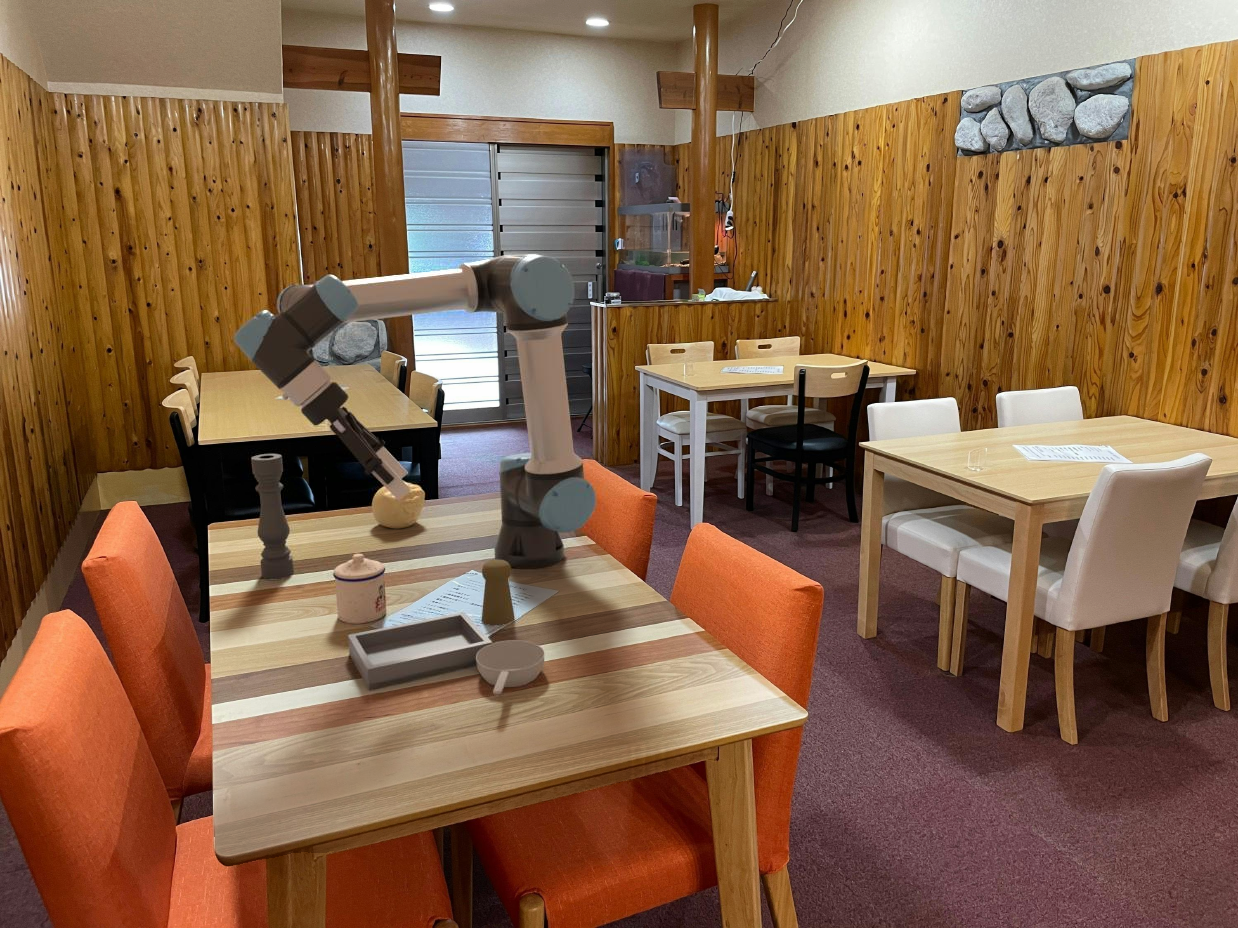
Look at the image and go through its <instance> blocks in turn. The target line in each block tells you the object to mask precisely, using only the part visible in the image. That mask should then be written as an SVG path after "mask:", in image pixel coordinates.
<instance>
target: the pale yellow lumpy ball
mask: <svg viewBox="0 0 1238 928" xmlns="http://www.w3.org/2000/svg"><path fill="white" fill-rule="evenodd" d="M403 481H404V482H405V483H406V485H407V486H408V487H409V488H410V489H411V490H410V491H409V492H408V493H407V494H406V495H405V496H403V497H402V498H401V499H400V500H399V501H398V500H397V499H396V498H395V497H394V495H393V494H392V493H391V492H390V491H389V490H388V489H387V488H386V487H385V486H384V485H383V486H382V487H381V488H379V489H378V490H377V492H376V493H375V494H374V496H373V498H372V503H371V512H372V514H373V518H374V519H375V521H376V522H377V523H378V524H380V525H381V526H383V527H386V528H390V529H404V528H409V527H410V526H412V525H414V524H415V523H416V522H417V521H418V520H419V517H420V515H421V513H422V509H423V508H424V507H425V503H426V500H425V498H426V493H425V491H424V490H423V489H422V487H421V486H420V485H418V484H413V483H411V482H406V481H405V480H403Z"/></svg>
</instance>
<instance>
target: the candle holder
mask: <svg viewBox="0 0 1238 928" xmlns="http://www.w3.org/2000/svg"><path fill="white" fill-rule="evenodd" d="M250 460H251V468H252V474H253V475H254V478H255V480H256V481H257V482H258V484H257V485H256V486H255V491H256V492H258V494H259V500H260V511H259V512H260V514H259V519H258V526H257V536H258V538H259V540H261V542H262V543H263V546H264V547H263V549H262V551H261V554H260V557H262V558H261V560H260V561H259V562H260V571H261V577H262V578H263V579H264V578H265V579H264V580H268V579H277V580H282V578H283V579H287V578H289V576H290V577H291V576H293V575H294V572H295V571H294V560H293V559H294V558H293V556H292V555H291V551H292V550H291V549H290V548H289V547H288V546H287V545H286V544H287V539H288V537H289V535H290V533H291V532H290V531H291V529H290V525H289V522H288V520H287V517H286V515H285V512H284V509H283V507H282V498H281V495H282V494H281V491H282V490H283V488H284V484H282V483H281V482H280V480H281V477H282V475H283V472H284V468H283V456H282V455H281V454H278V453H264V454H262V453H261V454H258V455H255V456H251V459H250ZM286 577H287V578H286Z"/></svg>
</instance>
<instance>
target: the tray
mask: <svg viewBox="0 0 1238 928" xmlns="http://www.w3.org/2000/svg"><path fill="white" fill-rule="evenodd" d="M347 641H348V642H347V643H348V654H349V656H350V658H351V659H352V662H353V664H354V665H355V667H356V669H357V671H358V673H359V675H360V676H361V678H362V680H363V682H364V684H365V685H366V687H367V690H368V691H372V690H377V689H382V688H386V687H390V686H395V685H399V684H403V683H408V682H411V681H417V680H421V679H425V678H429V677H434V676H437V675H444V674H447V673H452V672H456V671H460V670H464V669H469V668H473V667H477V662H476V655H477V653H478V651H479V650H481V649H482V648H483V647H485V646H487V645H490V644H492V643H493V641H492V640H491V639H490V638H489V637H488V635H486V634H485V633H484V632H483V630H481V628H480V627H479V626H478V625H477V624H476V622H474V621H473V620H472V618H471V617H470V616H468V614H467V613H466V612H465V611H462V612H456V613H452V614H447V615H442V616H436V617H433V618H427V619H426V618H425V619H422V620H416V621H412V622H406V623H401V624H396V625H392V626H391V625H390V626H386V627H382V628H377V629H372V630H371V629H370V630H367V631H361V632H357V633H350V634H348V635H347Z"/></svg>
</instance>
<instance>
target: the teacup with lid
mask: <svg viewBox="0 0 1238 928" xmlns="http://www.w3.org/2000/svg"><path fill="white" fill-rule="evenodd" d="M385 571H386V568H385V565H384V564H383V563H382V562H381V561H377V560H374V559H373V560H372V559H370V558H366V557H365V555H364V554H362V553H356V554H355V553H354V554H353V555H352V559H350V560H348V561H347V562H344V563H341V564H339V565H338V566H336V567H335V568H334V570H333V573H332V575H333V577H334V584H335V596H336V608H337V611H336V612H337V617H338V619H339V620H340V621H342V622H343V623H347V624H354V625H355V624H367V623H371V622H375V621H378V620H380V619H381V618H383V617H384V616H385V615H386V613H387V598H386V584H385V583H386V582H385V581H386V580H385V573H386V572H385Z"/></svg>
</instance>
